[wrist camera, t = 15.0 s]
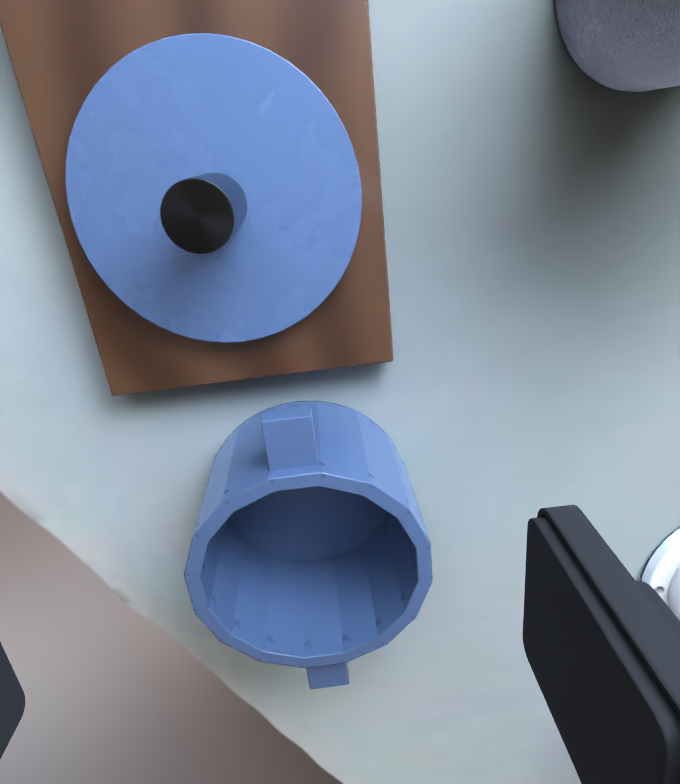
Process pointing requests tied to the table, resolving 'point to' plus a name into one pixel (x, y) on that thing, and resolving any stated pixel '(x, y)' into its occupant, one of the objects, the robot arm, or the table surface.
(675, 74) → the pillar candle
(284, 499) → the pot
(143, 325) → the board
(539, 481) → the table surface
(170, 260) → the lid
